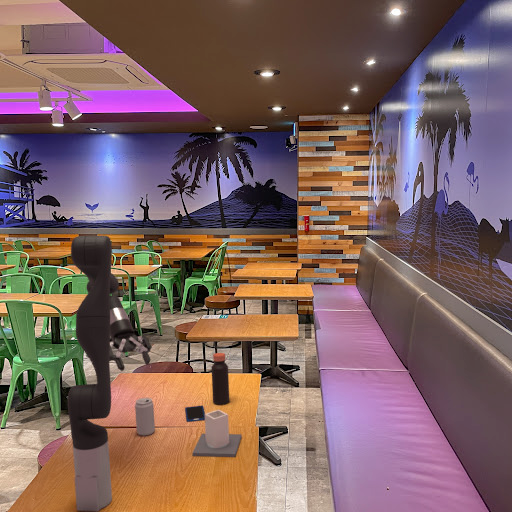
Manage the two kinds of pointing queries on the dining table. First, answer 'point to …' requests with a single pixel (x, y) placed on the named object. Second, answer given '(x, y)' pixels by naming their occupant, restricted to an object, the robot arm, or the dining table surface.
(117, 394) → the dining table surface
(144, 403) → the beverage can
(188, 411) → the cell phone
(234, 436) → the post plate
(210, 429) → the sleeve
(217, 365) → the bottle
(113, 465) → the dining table surface
